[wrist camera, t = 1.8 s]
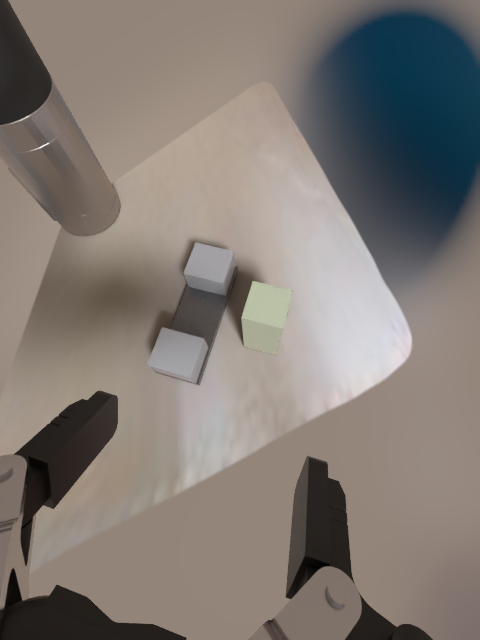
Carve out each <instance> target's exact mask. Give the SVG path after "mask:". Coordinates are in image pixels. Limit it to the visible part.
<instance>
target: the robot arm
mask: <svg viewBox="0 0 480 640" xmlns="http://www.w3.org/2000/svg"><path fill="white" fill-rule="evenodd" d="M0 158H1V159H2V160H3V161H4V162H5V163H6V164H7V165H8V167H9V171H10V173H11V174H12V175H13V176H14V177H15V178H16V179H17V180H18V182H19V183H20V184H21V185H22V186H23V187H24V188H25V189H26V190H27V191H28V192H29V194H30V195H32V197H33V198H34V199H35V200H36V201H37V202H38V203H39V204H40V206H41V207H42V208H43V209H44V210H45V211H46V212H47V213H48V214H49V215H50V216H51V218H52V219H53V220H55V221H58V222H59V223H60V224H61V226H62V227H63V228H64V229H65V230H66V231H68V232H70V233H72V234H75V235H79V236H87V235H93V234H96V233H99V232H101V231H103V230H105V229H106V228H108V227H109V226H110V225H111V224H112V223H113V222H114V221H115V219H116V218H117V216H118V214H119V211H120V200H119V198H118V196H117V194H116V192H115V190H114V189H113V187H112V185H111V183H110V182H109V180H108V178H107V176H106V174H105V172H104V170H103V169H102V167H101V165H100V163H99V162H98V160H97V158H96V156H95V154H94V153H93V151H92V149H91V147H90V145H89V144H88V142H87V140H86V138H85V137H84V135H83V133H82V131H81V129H80V128H79V126H78V124H77V122H76V121H75V119H74V117H73V115H72V113H71V112H70V110H69V108H68V106H67V105H66V103H65V101H64V99H63V97H62V96H61V94H60V92H59V91H58V89H57V87H56V85H55V83H54V81H53V79H52V78H51V76H50V74H49V72H48V70H47V69H46V67H45V65H44V64H43V62H42V60H41V58H40V56H39V55H38V53H37V51H36V49H35V48H34V46H33V44H32V43H31V41H30V39H29V37H28V36H27V34H26V32H25V30H24V28H23V27H22V25H21V23H20V21H19V19H18V17H17V16H16V14H15V12H14V10H13V9H12V7H11V5H10V3H9V1H8V0H0ZM117 424H118V398H117V396H116V395H112V394H109V393H106V392H103V391H97V392H96V393H95V394H94V395H92V396H91V397H90V398H89V399H88V400H84V399H81V400H79V401H77V402H75V403H73V404H71V405H69V406H68V407H67V408H66V409H65V410H63V411H62V412H61V413H60V414H59V416H58V417H56V418H54V419H53V420H52V421H51V422H50V424H48V425H47V426H45V427H44V428H43V429H42V430H41V431H40V432H39V433H38V434H37V435H35V436H34V437H33V438H32V439H31V440H30V441H29V442H28V443H26V444H25V445H24V446H23V447H22V448H21V449H20V450H19V451H17V452H16V453H15V454H13V455H4V456H0V640H186V638H185V637H183V636H181V635H178V634H176V633H173V632H170V631H168V630H166V629H164V628H161V627H159V626H156V625H154V624H135V623H116V622H113V621H112V620H111V619H110V618H109V617H108V616H106V615H105V614H104V613H103V612H102V611H101V610H100V609H99V608H98V607H97V606H96V605H95V604H94V603H93V602H92V601H91V600H90V599H88V598H87V597H86V596H83V595H81V594H78V593H76V592H73V591H71V590H69V589H66V588H63V587H61V586H59V585H56V587H55V588H54V590H53V591H52V593H51V594H50V596H38V597H34V598H29V593H30V584H29V573H30V563H31V554H32V546H33V537H34V529H35V520H36V513H37V511H38V510H39V509H40V508H41V507H42V506H43V505H45V506H47V507H50V508H53V509H54V508H55V507H56V505H57V504H58V503H59V502H60V501H61V499H62V498H63V497H64V496H65V494H66V493H67V492H68V491H69V490H70V488H71V487H72V486H73V485H74V483H75V482H76V481H77V480H78V479H79V477H80V476H81V475H82V474H83V472H84V471H85V470H86V469H87V467H88V466H89V465H90V464H91V463H92V461H93V460H94V459H95V458H96V456H97V455H98V454H99V453H100V452H101V450H102V449H103V448H104V447H105V445H106V444H107V443H108V442H109V440H110V439H111V438H112V437H113V435H114V433H115V431H116V428H117ZM286 598H289V599H291V600H290V601H289V602H288V603H287V604H286V606H285V607H284V608H283V609H282V610H281V611H280V612H279V613H278V614H277V615H276V616H275V617H274V618H273V619H272V620H268V621H267V622H265V623H264V624H263V625H262V626H261V627H260V628H259V629H258V630H257V631H256V632H255V633H254V634H253V636H251V637H250V639H249V640H432V639H431V637H430V636H428V634H426V633H425V632H424V631H423V630H421V629H420V628H418V627H416V626H413V625H411V624H402V625H400V626H398V627H396V626H395V625H393V624H392V623H391V622H389V621H388V620H387V619H385V618H384V617H383V616H381V615H380V614H379V613H377V612H376V611H375V610H374V609H372V608H371V607H370V606H369V605H368V604H367V603H366V602H365V601H364V599H363V598H362V596H361V595H360V593H359V592H358V590H357V588H356V586H355V583H354V581H353V578H352V572H351V561H350V549H349V537H348V525H347V513H346V500H345V494H344V492H343V490H342V488H341V485H340V483H339V481H336V480H333V479H330V478H328V464H327V462H325V461H322V460H319V459H316V458H313V457H309V456H307V458H306V460H305V463H304V466H303V468H302V471H301V474H300V476H299V479H298V482H297V485H296V489H295V494H294V504H293V516H292V528H291V540H290V551H289V564H288V576H287V589H286Z"/></svg>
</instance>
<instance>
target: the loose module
mask: <svg viewBox="0 0 480 640" xmlns="http://www.w3.org/2000/svg"><path fill="white" fill-rule="evenodd" d="M292 293H293V291H292V290H288V289H284V288H280V287H276V286H272V285H268V284H264V283H260V282H256V281H253V282H252V285H251V288H250V291H249V295H248V298H247V301H246V304H245V308H244V311H243V314H242V317H241V320H242V331H243V341H244V347H247V348H251V349H255V350H258V351H262V352H266V353H269V354H273V355H276V352H277V348H278V345H279V341H280V338H281V334H282V331H283V327H284V323H285V319H286V316H287V312H288V308H289V304H290V300H291V296H292Z"/></svg>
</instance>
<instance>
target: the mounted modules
mask: <svg viewBox="0 0 480 640" xmlns="http://www.w3.org/2000/svg"><path fill="white" fill-rule="evenodd" d="M235 267H236V264H235V254H234V251H230V250H226V249H222V248H218V247H213V246H209V245H205V244H200V243H195V245H194V248H193V250H192V253H191V255H190V258H189V260H188V263H187V265H186V268H185V270H184V273H183V274H184V276H185V279H186V281H187V284H188V286H189V287H192V288H196V289H200V290H204V291H208V292H212V293H216V294H220V295H224V296H226V293H227V290H228V287H229V284H230V281H231V278H232V275H233V273H234V270H235ZM207 350H208V345H207V343H206V341H205V339H204V338H200V337H197V336H193V335H189V334H186V333H182V332H178V331H175V330H171V329H168V328H164V327H162V328H161V331H160V333H159V336H158V338H157V341H156V343H155V346H154V348H153V351H152V353H151V356H150V358H149V361H148V363H147V366H149V367H150V368H152V369H153V370H155V371H156V372H159V373H163V374H166V375H170V376H173V377H176V378H180V379H183V380H186V381H190V382H193V383H196V382H197V379H198V376H199V373H200V370H201V367H202V364H203V361H204V358H205V356H206V353H207Z"/></svg>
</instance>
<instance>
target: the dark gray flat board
mask: <svg viewBox="0 0 480 640" xmlns="http://www.w3.org/2000/svg"><path fill="white" fill-rule="evenodd" d="M237 271H238V266H236V267H235V270H234V273H233V275H232V278H231V281H230V284H229V287H228V290H227V293H226V296H224V295H220V294H216V293H212V292H208V291H204V290H200V289H196V288H192V287H189V286H188V285H187V287H186V290H185V293H184V295H183V298H182V300H181V303H180V306H179V308H178V311H177V313H176V316H175V318H174V321H173V324H172V326H171V330H175V331H178V332H182V333H186V334H189V335H193V336H197V337H200V338H204V339H205V341H206V343H207V345H208V350H207V353H206V356H205V358H204V361H203V364H202V367H201V370H200V373H199V376H198V379H197V382H196V383H193V382H190V381H187V382H190V383H193V384H197V385H200V382H201V379H202V376H203V373H204V370H205V367H206V364H207V361H208V358H209V355H210V352H211V349H212V346H213V343H214V340H215V337H216V334H217V331H218V328H219V325H220V322H221V319H222V316H223V313H224V310H225V307H226V304H227V301H228V298H229V295H230V292H231V289H232V286H233V283H234V280H235V277H236V274H237ZM154 371H155V370H154ZM155 372H156V371H155ZM156 373H159V372H156ZM160 374H163V373H160ZM163 375H166V374H163ZM166 376H170V375H166ZM170 377H173V376H170ZM173 378H176V377H173ZM177 379H180V378H177ZM180 380H183V379H180ZM183 381H186V380H183Z"/></svg>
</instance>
